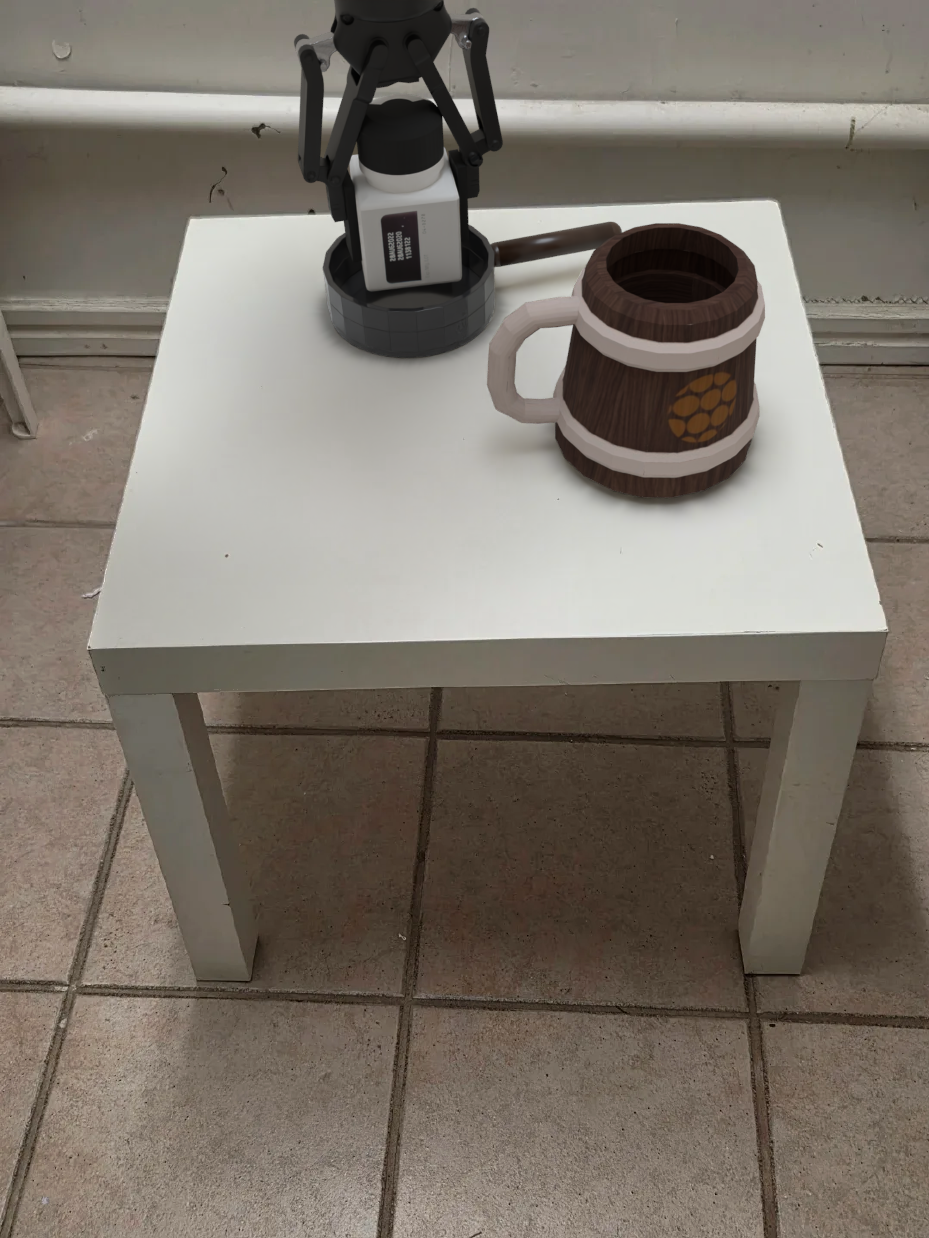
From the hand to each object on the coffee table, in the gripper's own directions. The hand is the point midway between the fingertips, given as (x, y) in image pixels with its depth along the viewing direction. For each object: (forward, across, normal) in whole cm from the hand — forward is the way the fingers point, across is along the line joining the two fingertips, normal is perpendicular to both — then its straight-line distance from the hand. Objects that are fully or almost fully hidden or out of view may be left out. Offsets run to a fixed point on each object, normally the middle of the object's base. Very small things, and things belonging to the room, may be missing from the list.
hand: (407, 242), depth 96 cm
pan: (+6, 0, 0) cm, 6 cm away
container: (+2, 0, 0) cm, 2 cm away
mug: (+6, -11, +21) cm, 25 cm away
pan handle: (+4, -13, 0) cm, 13 cm away
